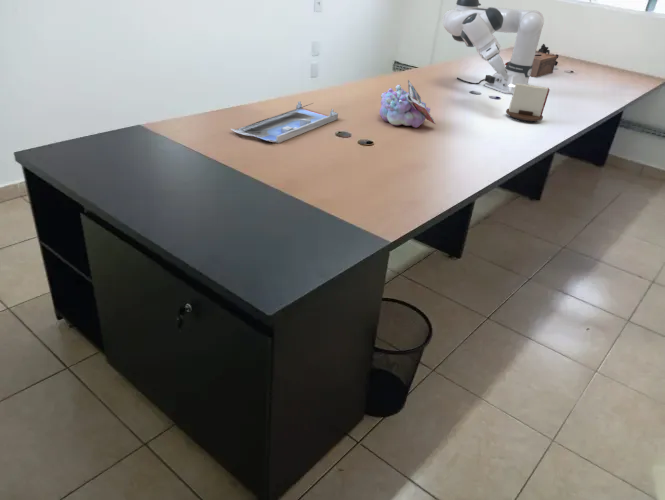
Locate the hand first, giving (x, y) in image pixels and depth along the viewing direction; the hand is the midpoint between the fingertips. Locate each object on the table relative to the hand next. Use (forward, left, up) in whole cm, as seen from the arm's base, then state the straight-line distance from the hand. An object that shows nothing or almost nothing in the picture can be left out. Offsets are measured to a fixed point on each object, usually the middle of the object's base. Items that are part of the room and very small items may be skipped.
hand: (506, 76), depth 239 cm
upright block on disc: (+10, +7, -15) cm, 19 cm away
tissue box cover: (-37, +107, -17) cm, 115 cm away
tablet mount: (-54, +150, -17) cm, 161 cm away
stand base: (+10, +7, -17) cm, 21 cm away
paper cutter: (-33, -97, -17) cm, 103 cm away
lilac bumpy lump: (-13, -51, -17) cm, 55 cm away
